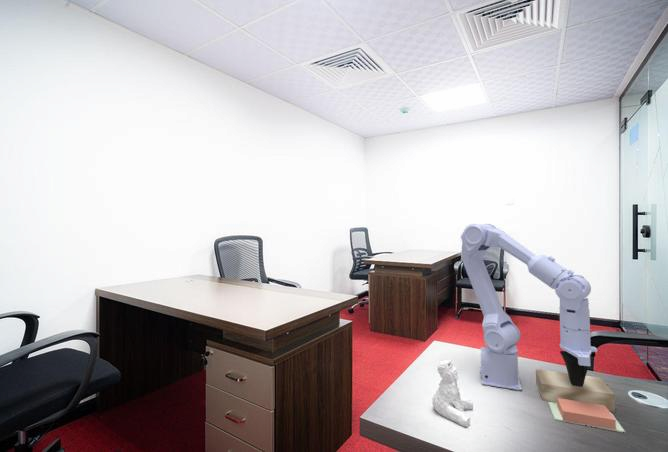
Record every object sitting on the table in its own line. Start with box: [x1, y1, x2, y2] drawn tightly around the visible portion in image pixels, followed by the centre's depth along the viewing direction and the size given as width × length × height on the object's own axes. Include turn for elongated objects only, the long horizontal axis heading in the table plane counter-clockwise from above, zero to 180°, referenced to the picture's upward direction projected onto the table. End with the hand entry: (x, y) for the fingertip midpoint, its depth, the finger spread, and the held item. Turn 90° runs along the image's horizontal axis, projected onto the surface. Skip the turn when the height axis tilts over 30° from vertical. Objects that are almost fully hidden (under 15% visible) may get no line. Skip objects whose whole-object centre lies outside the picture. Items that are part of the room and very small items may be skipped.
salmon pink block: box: [557, 398, 617, 430], centre depth 71 cm, size 9×6×2 cm, turn 66°
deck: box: [535, 368, 616, 413], centre depth 80 cm, size 14×9×4 cm, turn 66°
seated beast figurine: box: [431, 359, 474, 428], centre depth 74 cm, size 10×9×12 cm
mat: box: [547, 401, 626, 434], centre depth 72 cm, size 12×8×1 cm, turn 66°
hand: (576, 385), depth 76 cm, fingers closed
